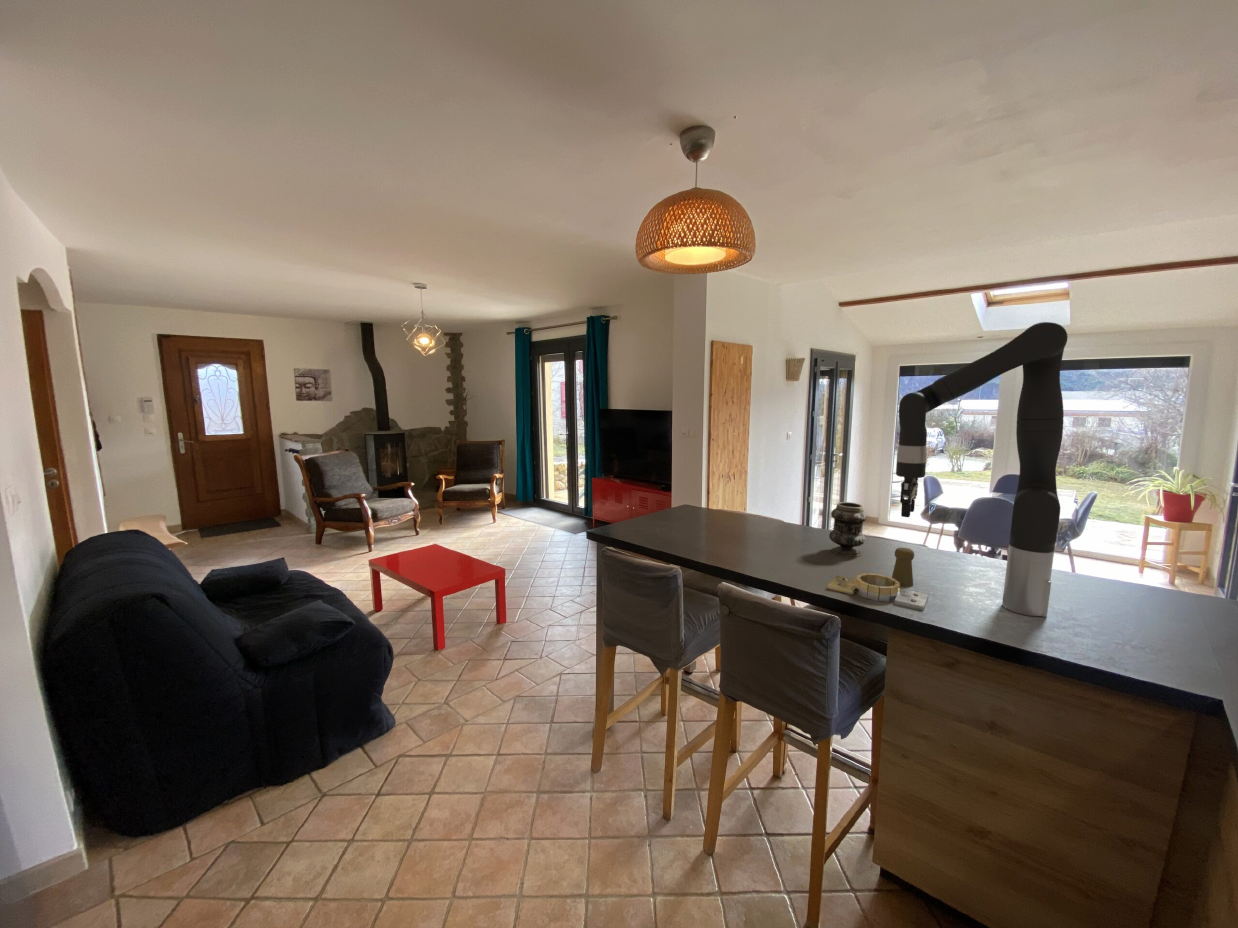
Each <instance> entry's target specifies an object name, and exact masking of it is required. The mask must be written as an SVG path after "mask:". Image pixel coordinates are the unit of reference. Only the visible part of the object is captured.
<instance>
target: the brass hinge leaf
mask: <svg viewBox="0 0 1238 928" xmlns="http://www.w3.org/2000/svg"><path fill="white" fill-rule="evenodd" d="M865 581H876V582H881V583H885V584H888V585H890V586H889V587H884V586H876V585H871V584H868V583H866V582H865ZM856 585H857V586H858V588H860V589H862V590H864V591H867V592H870V593H875V594H881V595H892V594H897V593H898V592H899V591H900V589H901V586H900V583H899V582H898V581H897V580H895V579H893V578H892V576H891V577H890V576H888V575H884V574H878V573H869V572H867V573H860V574H858V575H857V576H856V577H855V578H853V577H852V578H851V577H847V576H841V575H839V574H838V575H837V574H836V575H835V577H834V578H833V579H832V580H831V581H830V582H829V583H828V584H827V590H832V591H835V592H841V593H844V594H848V595H851V596H852V595H854V594H855V593H856Z"/></svg>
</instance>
